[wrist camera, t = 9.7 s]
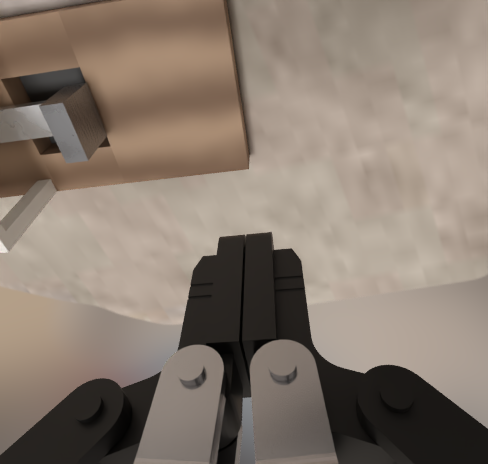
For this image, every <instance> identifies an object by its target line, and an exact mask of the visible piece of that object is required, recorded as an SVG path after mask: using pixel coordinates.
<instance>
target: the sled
mask: <svg viewBox="0 0 488 464" xmlns="http://www.w3.org/2000/svg"><path fill="white" fill-rule="evenodd" d="M51 136H53V137H54V139H55V141H56V143H57V145H58V147H59V149H60V151H61V153H62V155H63V157H64V159H65V162H66V163H75V162H83V161H89V159H90V158H91V157H92V155H93V154H94V153H95V151H96V150H97V149H98V147H99V146H100V145H101V143H102V142H103V141H104V139H105V138H106V137H107V133H106V131H105V128H104V125H103V123H102V120H101V118H100V115H99V113H98V110H97V107H96V105H95V102H94V100H93V97H92V95H91V92H90V89H89V87H88V84H87V83H80V84H73V85H67V86H64V87H63V88H62V89H61V90H59V91H58V92H57V93H55V94H54V95H53V96H52V97H50V98H49V99H48V100H45V101H38V102H31V103H24V104H18V105H11V106H4V107H0V143H5V142H13V141H20V140H28V139H36V138H43V137H51Z"/></svg>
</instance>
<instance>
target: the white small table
mask: <svg viewBox="0 0 488 464" xmlns="http://www.w3.org/2000/svg"><path fill="white" fill-rule="evenodd" d="M56 192H57V190H56V188H55V187H54V185H53V183H52V181H51V179H48V180H39V181H37V182H36V183H35V184H34V185H33V186H32V187H31V188H30V189H29V191H28V192H27V193H26V194H25V195H24V196H23V197H22V198H21V199H20V201H19V202H18V203H17V204H16V205H15V206H14V207H13V208H12V209H11V210H10V212H9V213H8V214H7V215H6V216H5V217H4V218H3V219H2V220H1V221H0V253H4V252H9V251H10V250H11V249H12V247H13V246H14V245H15V243H16V242H17V241H18V240H19V238H20V237H21V236H22V235H23V233H24V232H25V231H26V230H27V228H28V227H29V226H30V225H31V223H32V222H33V221H34V219H35V218H36V217H37V216H38V214H39V213H40V212H41V211H42V209H43V208H44V207H45V206H46V204H47V203H48V202H49V200H50V199H51V198H52V197H53V195H54V194H55V193H56Z"/></svg>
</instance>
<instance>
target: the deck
mask: <svg viewBox="0 0 488 464" xmlns="http://www.w3.org/2000/svg"><path fill="white" fill-rule="evenodd" d="M80 83H87V84H88V87H89V89H90V92H91V95H92V97H93V100H94V102H95V105H96V107H97V110H98V113H99V115H100V118H101V120H102V123H103V125H104V128H105V131H106V133H107V137H106V138H105V139H104V141H103V142H102V143H101V145H100V146H99V147H98V149H97V150H96V151H95V153H94V154H93V155H92V157H91V158H90V159H89V161H83V162H75V163H66V162H65V159H64V157H63V155H62V153H61V151H60V149H59V147H58V145H57V143H56V141H55V139H54V137H53V136H51V137H43V138H36V139H28V140H20V141H13V142H5V143H0V198H2V197H10V196H19V195H25V194H26V193H27V192H28V191H29V189H30V188H31V187H32V186H33V185H34V184H35V183H36V182H37V181H39V180H48V179H51V181H52V183H53V185H54V187H55V188H56V190H57V191H62V190H71V189H80V188H88V187H97V186H106V185H115V184H123V183H132V182H141V181H149V180H158V179H167V178H175V177H184V176H193V175H201V174H210V173H219V172H227V171H236V170H245V169H249V150H248V143H247V136H246V129H245V123H244V116H243V109H242V102H241V96H240V89H239V82H238V75H237V69H236V62H235V55H234V48H233V42H232V35H231V28H230V21H229V15H228V8H227V1H226V0H105V1H99V2H94V3H88V4H82V5H76V6H70V7H65V8H59V9H53V10H47V11H41V12H35V13H30V14H24V15H18V16H12V17H6V18H1V19H0V107H4V106H11V105H18V104H24V103H31V102H38V101H45V100H48V99H49V98H50V97H52V96H53V95H54V94H55V93H57V92H58V91H59V90H61V89H62V88H63V87H64V86H67V85H73V84H80Z"/></svg>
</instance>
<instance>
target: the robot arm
mask: <svg viewBox="0 0 488 464" xmlns="http://www.w3.org/2000/svg"><path fill="white" fill-rule="evenodd" d="M188 298H189V299H188V301H187V306H186V311H185V316H184V322H183V327H182V332H181V338H180V343H179V347H178V351H177V352H176V353H174V354H173V355H172V356H171V357H170V358H169V359H168V360H167V361H166V363H165V365H164V366H163V369H162V371H161V372H159V373H158V374H156V375H154V376H152V377H150V378H148V379H145V380H142V381H140V382H137V383H134V384H132V385H129V386H126V387H124V388H121V387H120V386H119V385H118V384H117V383H116V382H114V381H112V380H110V379H95V380H92V381H88V382H86V383H84V384H82V385H81V386H79V387H78V388H76V389H75V390H74V391H73V392H72V393H70V394H69V395H68V396H67V397H66V398H65V399H64V400H62V401H61V402H60V403H59V404H58V405H57V406H56V407H55V408H54V409H52V410H51V411H50V412H49V413H48V414H47V415H46V416H44V417H43V418H42V419H41V420H40V421H39V422H38V423H36V424H35V425H34V426H33V427H32V428H31V429H30V430H29V431H27V432H26V433H25V434H24V435H23V436H22V437H21V438H19V439H18V440H17V441H16V442H15V443H14V444H13V445H12V446H10V447H9V448H8V449H7V450H6V451H5V452H4V453H2V454H1V455H0V464H239V460H240V450H241V440H242V422H241V421H242V401H243V399H242V398H245V397H252V412H253V428H254V444H255V460H256V464H488V429H487V428H486V427H485V426H483V425H482V424H481V423H479V422H478V421H477V420H475V419H474V418H473V417H472V416H470V415H469V414H468V413H466V412H465V411H464V410H462V409H461V408H460V407H459V406H457V405H456V404H455V403H453V402H452V401H451V400H449V399H448V398H447V397H445V396H444V395H443V394H442V393H440V392H439V391H438V390H436V389H435V388H434V387H433V386H431V385H430V384H429V383H427V382H426V381H425V380H423V379H422V378H421V377H419V376H418V375H417V374H415V373H414V372H412V371H410V370H408V369H406V368H403V367H400V366H395V365H381V366H377V367H374V368H372V369H370V370H369V371H367V372H366V373H365V374H364V373H360V372H356V371H352V370H348V369H344V368H341V367H337V366H335V365H333V364H331V363H330V362H328V361H327V360H325V359H324V358H323V357H322V356H321V355H320V354H319V353H318V352H317V350H316V349H315V347H314V345H313V343H312V339H311V332H310V325H309V318H308V310H307V302H306V294H305V287H304V279H303V272H302V264H301V260H300V259H299V257H298V256H297V255H296V253H295V252H294V251H293V249H280V250H274V245H273V237H272V232H268V233H257V234H247V235H246V236H245V235H237V236H226V237H220V238H219V242H218V250H217V255H213V256H203V257H202V259H201V260H200V261H199V263H198V264H197V266H196V267H195V268H194V270H193V275H192V280H191V287H190V290H189V296H188Z"/></svg>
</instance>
